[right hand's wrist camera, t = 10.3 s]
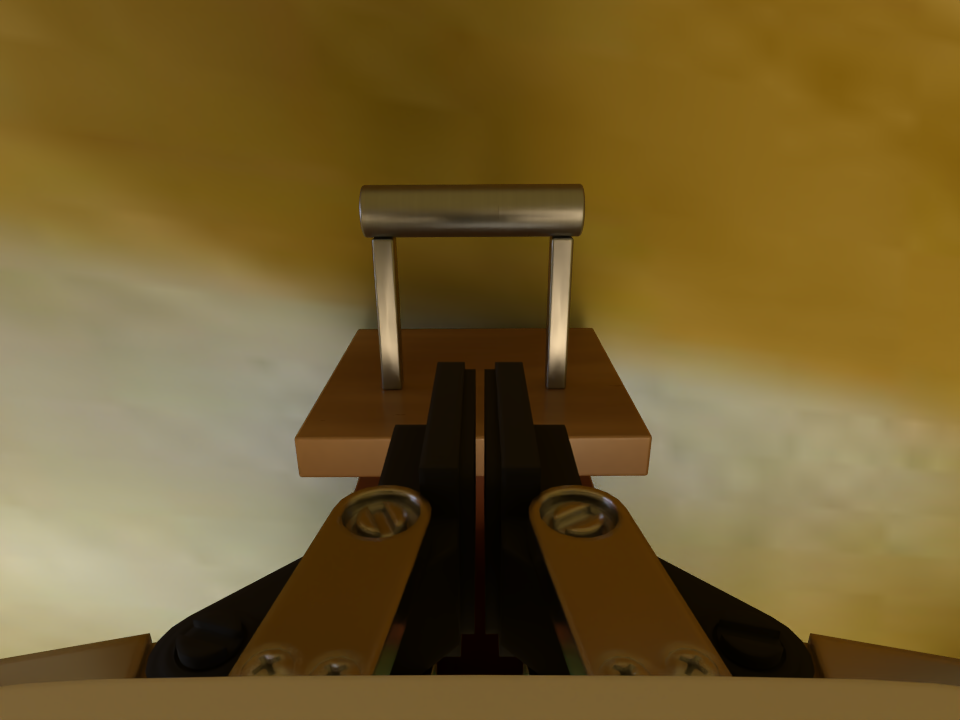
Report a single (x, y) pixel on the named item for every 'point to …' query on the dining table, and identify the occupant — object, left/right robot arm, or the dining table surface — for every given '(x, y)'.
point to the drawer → (472, 362)
